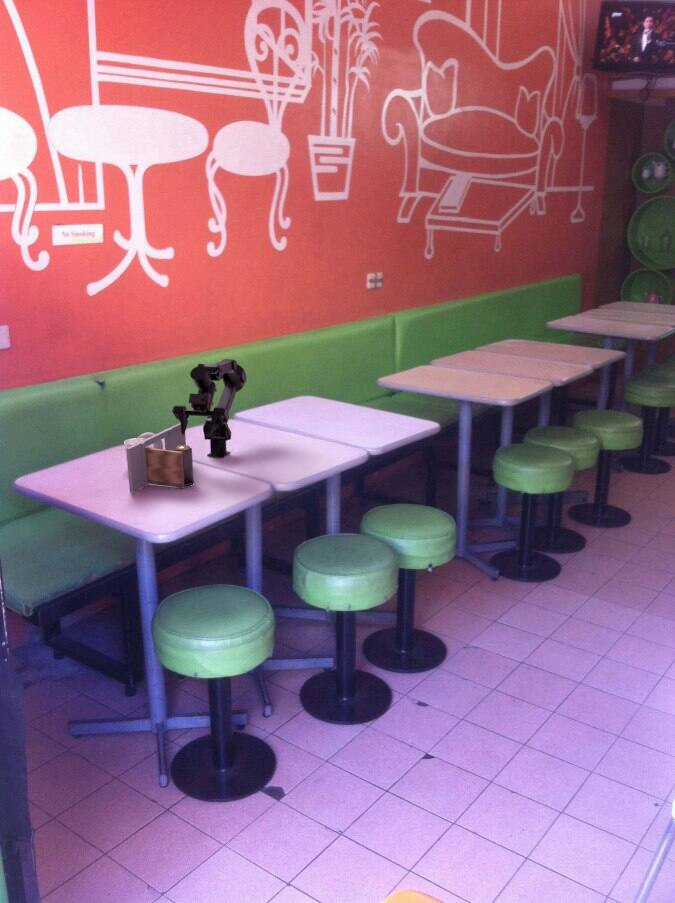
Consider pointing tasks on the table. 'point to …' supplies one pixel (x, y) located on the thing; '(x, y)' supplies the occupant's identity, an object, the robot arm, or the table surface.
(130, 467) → the wall frame
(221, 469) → the table surface
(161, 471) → the door
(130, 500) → the table surface
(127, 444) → the white cup
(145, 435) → the donut
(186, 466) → the dark metallic tumbler
